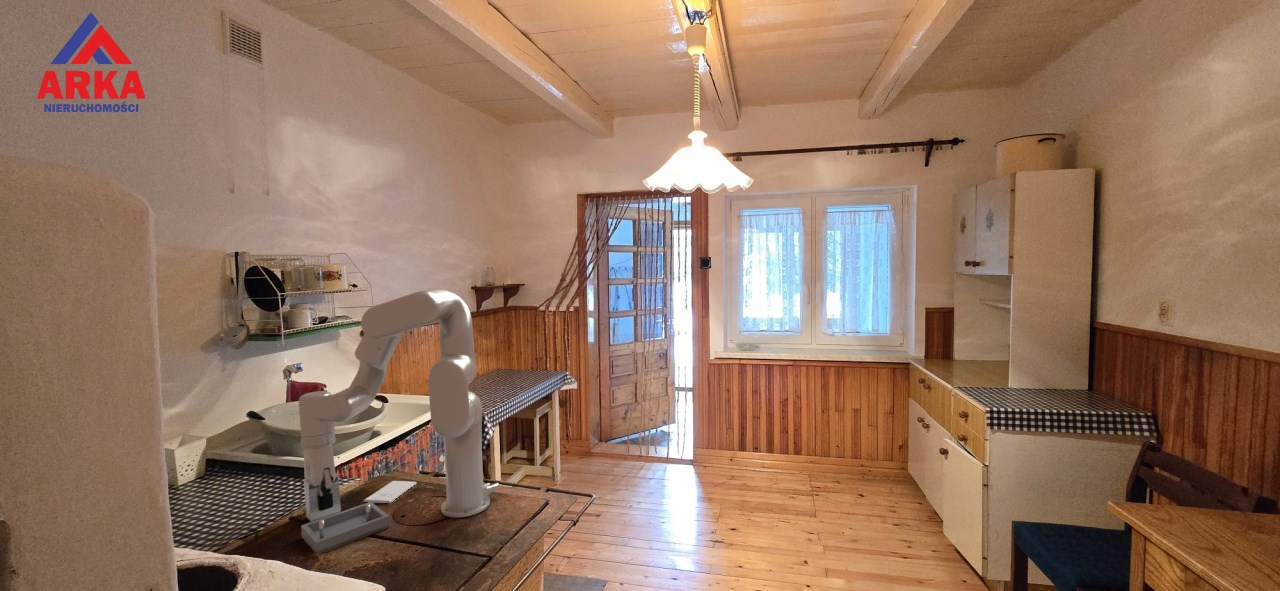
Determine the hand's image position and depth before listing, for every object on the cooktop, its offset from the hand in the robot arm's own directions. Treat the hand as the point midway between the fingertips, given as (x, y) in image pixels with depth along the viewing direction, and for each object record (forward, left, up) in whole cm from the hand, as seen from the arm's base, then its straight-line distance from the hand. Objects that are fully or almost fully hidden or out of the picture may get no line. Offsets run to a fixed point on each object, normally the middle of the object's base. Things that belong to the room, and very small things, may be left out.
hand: (323, 505), depth 133 cm
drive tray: (-1, +15, -3) cm, 15 cm away
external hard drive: (-17, +1, -3) cm, 17 cm away
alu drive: (0, 0, -2) cm, 2 cm away
